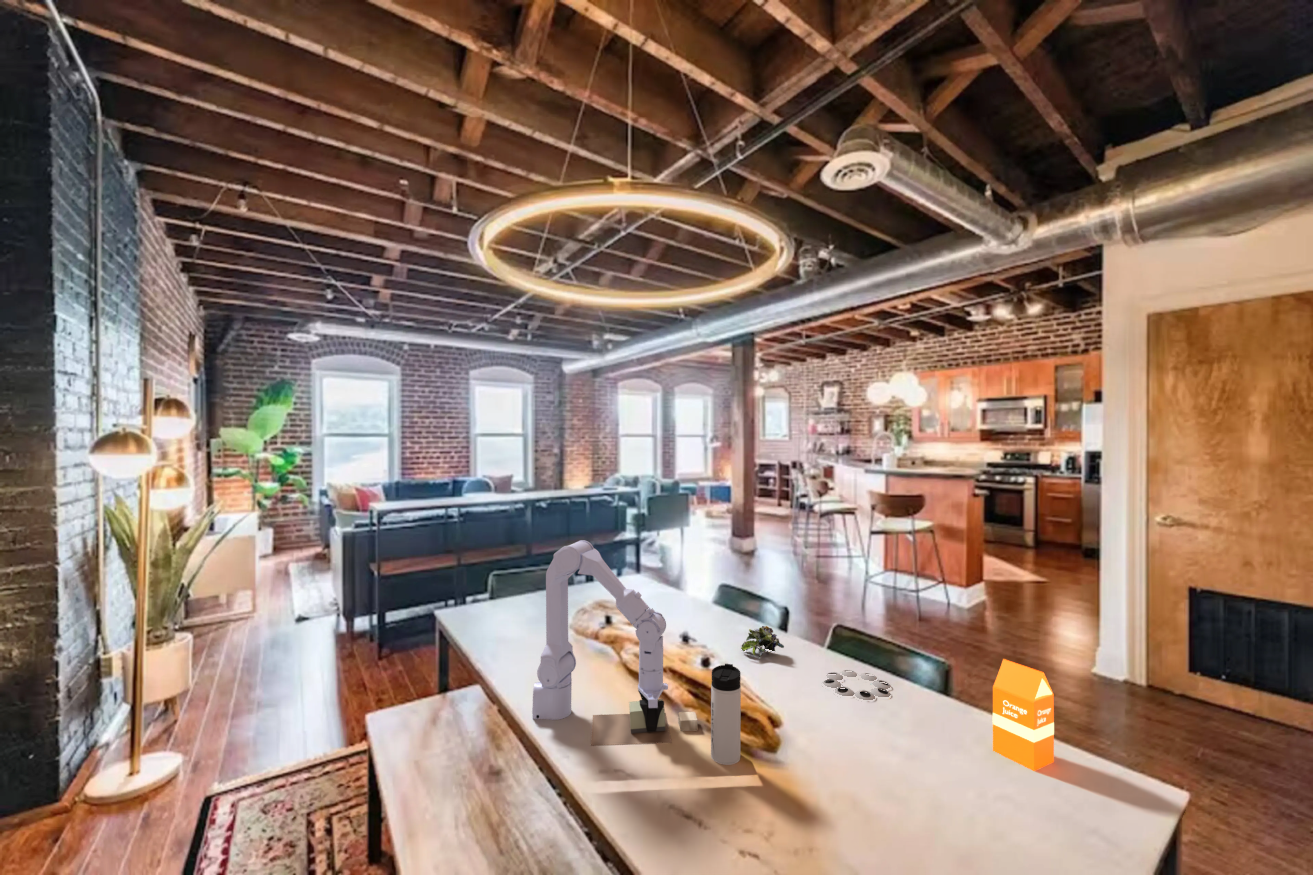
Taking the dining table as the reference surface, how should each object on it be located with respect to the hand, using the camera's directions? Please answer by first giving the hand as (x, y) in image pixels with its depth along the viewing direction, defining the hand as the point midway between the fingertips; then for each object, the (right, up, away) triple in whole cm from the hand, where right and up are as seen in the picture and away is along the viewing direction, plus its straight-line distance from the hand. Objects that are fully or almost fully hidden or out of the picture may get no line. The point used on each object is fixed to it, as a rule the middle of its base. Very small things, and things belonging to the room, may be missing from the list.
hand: (650, 724), depth 131 cm
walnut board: (-5, -2, 0) cm, 5 cm away
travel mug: (+16, -2, -12) cm, 20 cm away
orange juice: (+82, -3, -8) cm, 83 cm away
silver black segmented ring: (+58, -4, +27) cm, 64 cm away
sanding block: (-1, 0, 0) cm, 1 cm away
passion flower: (+35, -3, +49) cm, 60 cm away
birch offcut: (+7, 0, +1) cm, 7 cm away
